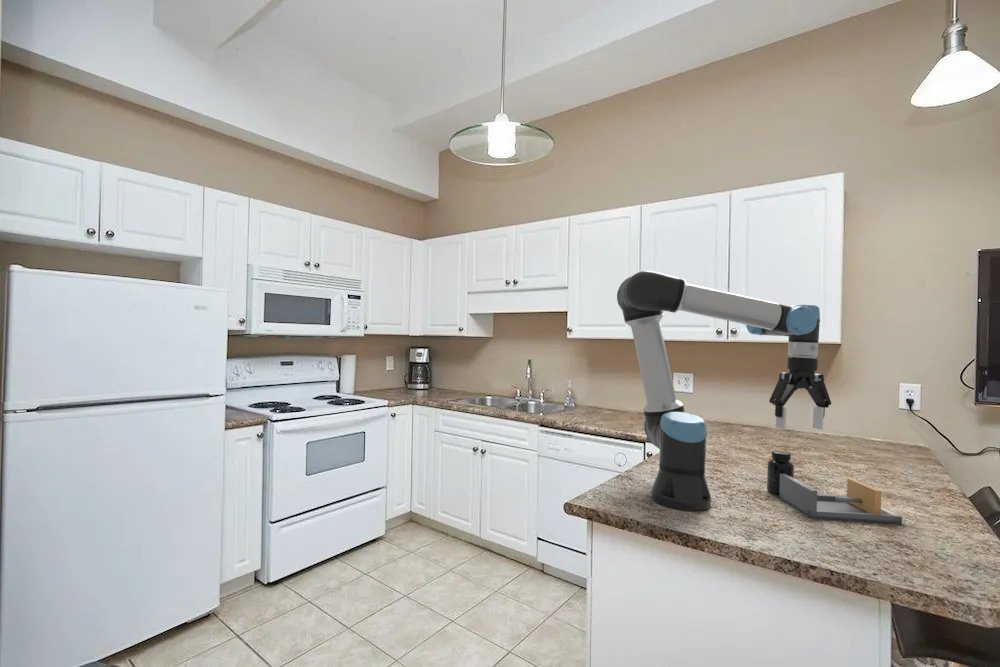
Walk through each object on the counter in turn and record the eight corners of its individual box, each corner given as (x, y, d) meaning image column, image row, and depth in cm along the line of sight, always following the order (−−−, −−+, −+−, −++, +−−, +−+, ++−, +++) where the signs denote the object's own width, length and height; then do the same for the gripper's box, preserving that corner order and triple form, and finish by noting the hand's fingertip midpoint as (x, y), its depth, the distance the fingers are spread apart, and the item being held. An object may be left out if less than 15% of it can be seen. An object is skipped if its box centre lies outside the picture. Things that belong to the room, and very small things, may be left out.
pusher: (849, 514, 120) (850, 489, 120) (824, 500, 131) (825, 477, 131) (880, 516, 120) (881, 491, 120) (852, 501, 130) (853, 478, 130)
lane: (810, 518, 119) (811, 490, 119) (779, 498, 134) (780, 473, 134) (901, 523, 117) (902, 495, 117) (860, 503, 132) (860, 478, 132)
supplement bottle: (797, 497, 135) (798, 456, 135) (771, 495, 136) (772, 453, 136) (787, 490, 142) (789, 450, 142) (763, 487, 143) (764, 448, 143)
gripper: (778, 355, 132) (775, 430, 132) (847, 359, 138) (844, 431, 138) (757, 354, 139) (754, 425, 139) (824, 358, 146) (821, 426, 145)
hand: (799, 428), depth 139 cm, fingers open, 13 cm apart
